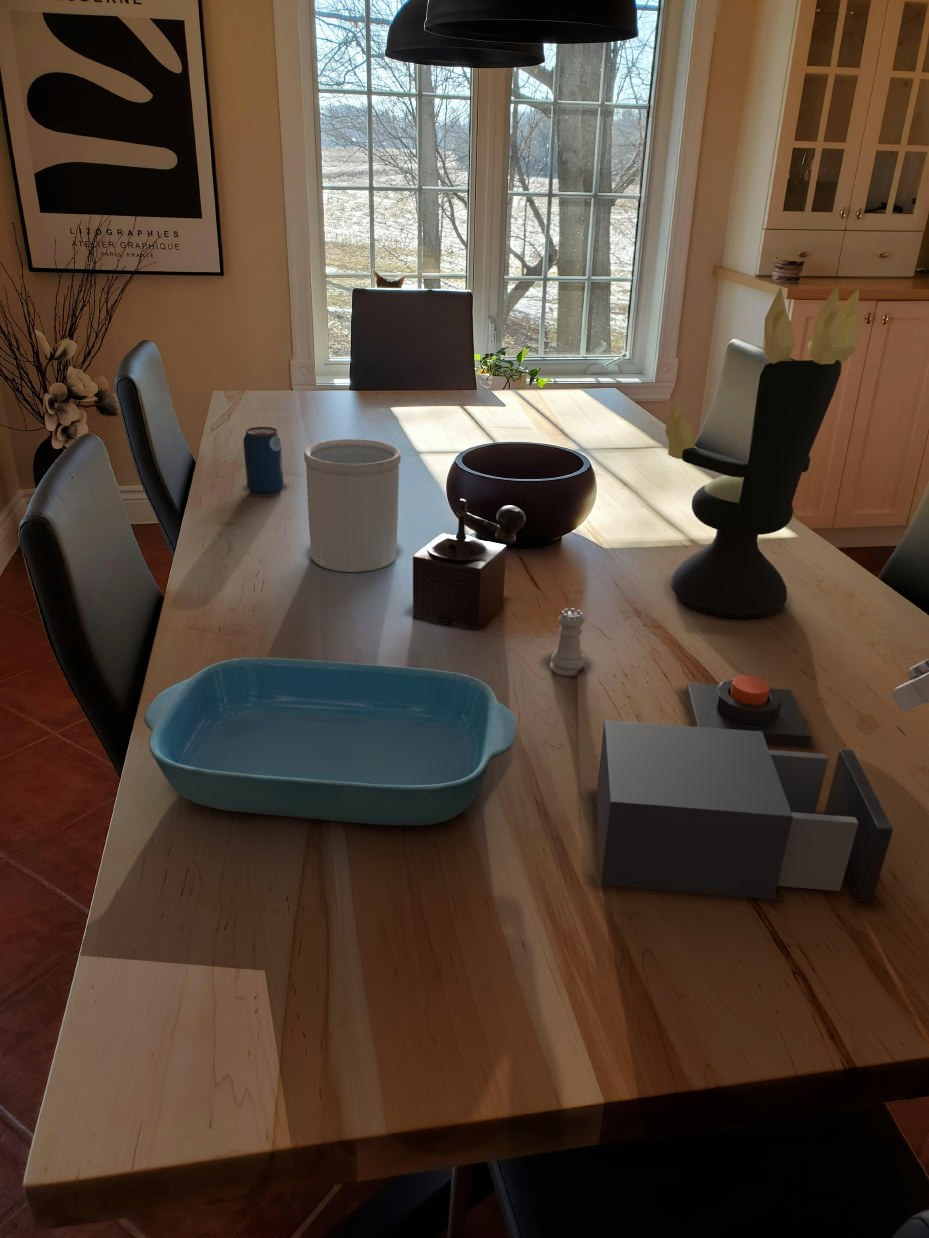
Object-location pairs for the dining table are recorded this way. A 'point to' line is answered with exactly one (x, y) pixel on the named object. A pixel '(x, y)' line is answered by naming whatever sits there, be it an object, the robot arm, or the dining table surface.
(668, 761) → the cabinet
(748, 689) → the button
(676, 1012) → the dining table surface
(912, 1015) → the dining table surface
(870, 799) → the drawer
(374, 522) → the utensil holder
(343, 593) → the dining table surface
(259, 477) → the soda can
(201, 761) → the casserole dish
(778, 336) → the black plant vase
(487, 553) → the manual coffee grinder
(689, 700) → the button box
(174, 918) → the dining table surface
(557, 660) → the rook chess piece
